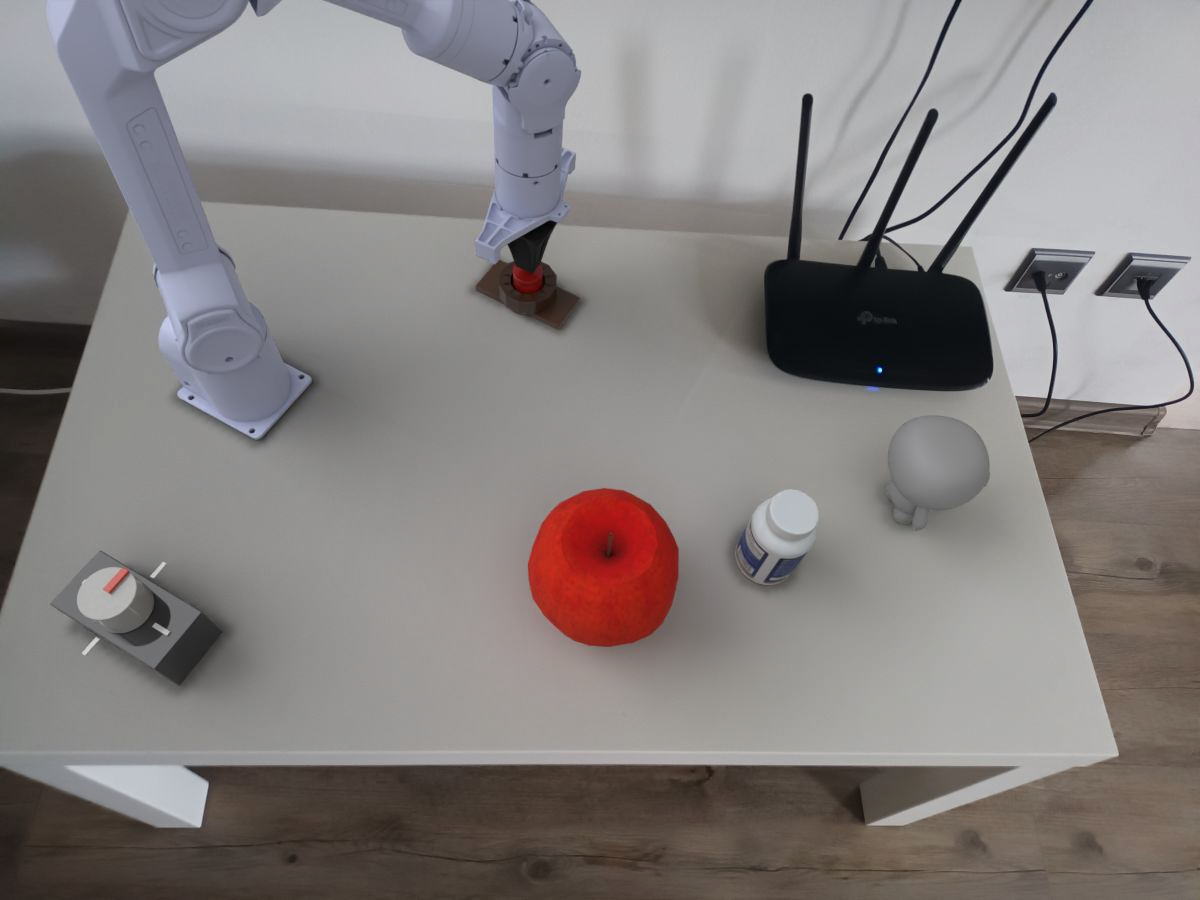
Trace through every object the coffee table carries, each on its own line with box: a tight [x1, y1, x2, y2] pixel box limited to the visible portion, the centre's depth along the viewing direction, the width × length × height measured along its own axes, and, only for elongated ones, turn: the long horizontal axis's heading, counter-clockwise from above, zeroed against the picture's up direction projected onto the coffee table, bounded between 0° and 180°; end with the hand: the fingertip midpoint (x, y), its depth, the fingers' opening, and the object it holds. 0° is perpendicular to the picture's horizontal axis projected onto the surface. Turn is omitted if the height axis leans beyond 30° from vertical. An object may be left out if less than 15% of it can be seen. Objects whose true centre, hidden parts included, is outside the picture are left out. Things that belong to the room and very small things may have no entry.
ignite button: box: [513, 265, 543, 294], centre depth 83 cm, size 3×3×2 cm
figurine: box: [885, 414, 991, 531], centre depth 71 cm, size 8×8×12 cm
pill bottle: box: [734, 488, 820, 586], centre depth 68 cm, size 5×5×10 cm
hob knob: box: [77, 567, 154, 633], centre depth 59 cm, size 4×4×4 cm
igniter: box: [475, 259, 581, 331], centre depth 84 cm, size 10×6×2 cm, turn 62°
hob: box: [49, 550, 224, 687], centre depth 63 cm, size 10×8×5 cm
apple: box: [527, 487, 680, 648], centre depth 63 cm, size 12×12×13 cm
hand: (527, 265), depth 81 cm, fingers closed
